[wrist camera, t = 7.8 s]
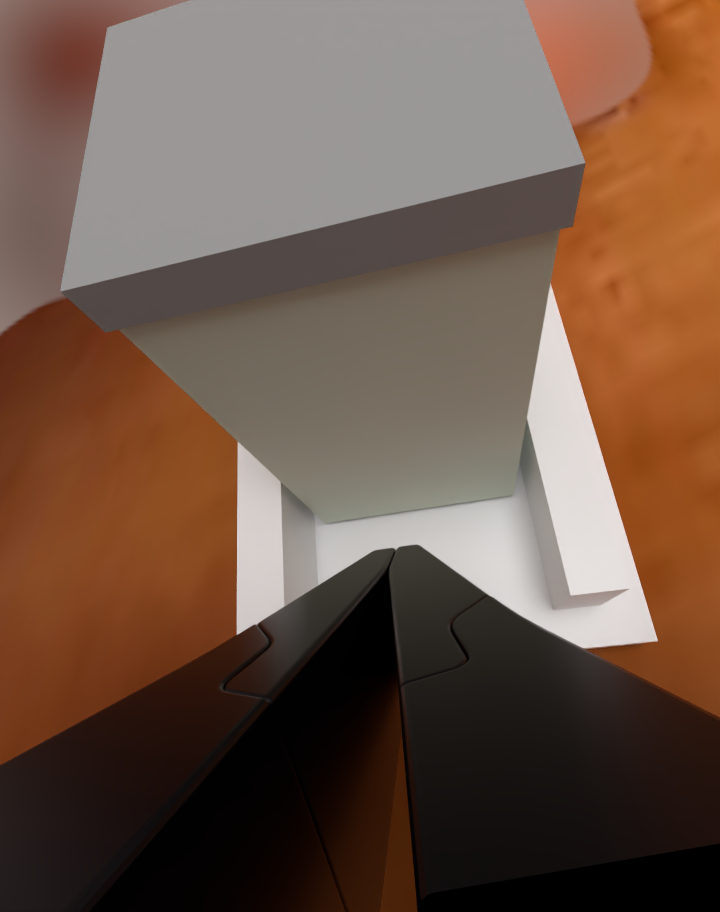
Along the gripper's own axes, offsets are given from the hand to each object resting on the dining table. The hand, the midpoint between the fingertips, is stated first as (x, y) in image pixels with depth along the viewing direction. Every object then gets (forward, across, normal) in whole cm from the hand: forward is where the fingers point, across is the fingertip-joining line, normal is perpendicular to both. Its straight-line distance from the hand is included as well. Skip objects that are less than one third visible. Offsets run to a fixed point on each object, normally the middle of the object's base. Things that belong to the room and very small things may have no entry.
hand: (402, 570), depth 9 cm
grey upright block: (+8, 0, 0) cm, 8 cm away
